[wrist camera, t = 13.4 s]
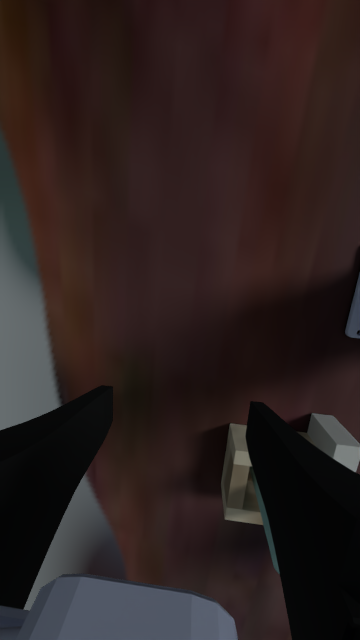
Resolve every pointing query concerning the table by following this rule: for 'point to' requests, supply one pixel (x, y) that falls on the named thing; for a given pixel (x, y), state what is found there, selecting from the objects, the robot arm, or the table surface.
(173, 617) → the robot arm
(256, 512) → the beige hollow square block
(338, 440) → the wall
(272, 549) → the dowel
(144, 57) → the table surface
